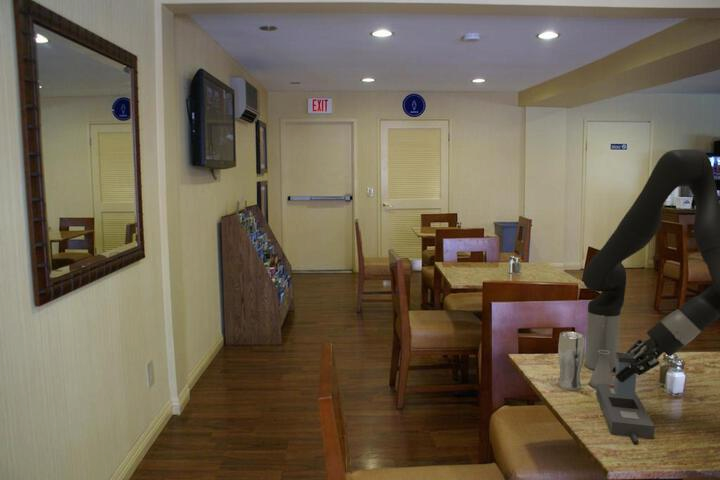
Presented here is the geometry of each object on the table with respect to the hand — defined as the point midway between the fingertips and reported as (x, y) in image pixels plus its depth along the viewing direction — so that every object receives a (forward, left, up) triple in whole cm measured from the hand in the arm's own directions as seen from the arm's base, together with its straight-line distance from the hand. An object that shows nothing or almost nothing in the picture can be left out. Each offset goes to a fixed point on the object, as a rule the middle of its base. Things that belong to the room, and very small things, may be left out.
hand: (616, 375), depth 142 cm
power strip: (+2, +2, -10) cm, 10 cm away
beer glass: (-16, -9, -10) cm, 21 cm away
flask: (-19, 0, -10) cm, 22 cm away
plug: (0, +2, -5) cm, 5 cm away
